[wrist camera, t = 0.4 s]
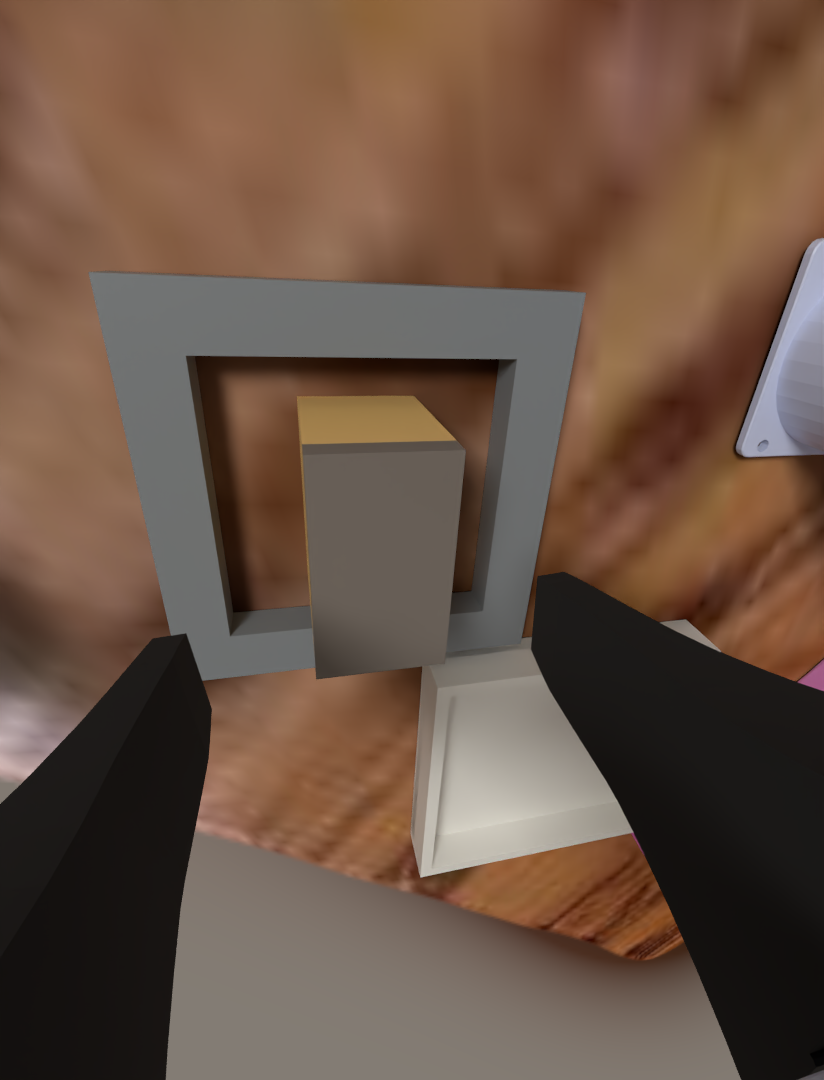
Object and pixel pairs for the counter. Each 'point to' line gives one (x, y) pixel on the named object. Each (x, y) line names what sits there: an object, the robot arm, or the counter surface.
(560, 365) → the gray square ring
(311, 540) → the tan and grey block
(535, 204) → the counter surface
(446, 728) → the parts tray
